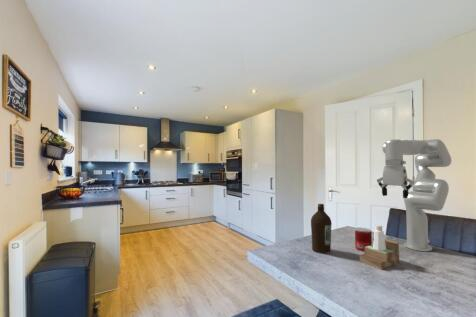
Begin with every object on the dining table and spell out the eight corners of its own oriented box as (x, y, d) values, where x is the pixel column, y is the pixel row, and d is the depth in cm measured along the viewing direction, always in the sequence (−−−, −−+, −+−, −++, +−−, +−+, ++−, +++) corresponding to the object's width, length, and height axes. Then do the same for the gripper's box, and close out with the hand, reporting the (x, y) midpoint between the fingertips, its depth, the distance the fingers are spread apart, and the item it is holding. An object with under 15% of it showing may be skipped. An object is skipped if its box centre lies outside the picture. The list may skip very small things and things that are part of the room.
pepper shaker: (381, 246, 111) (380, 224, 112) (388, 250, 106) (388, 227, 106) (370, 246, 111) (369, 224, 111) (377, 250, 106) (377, 227, 106)
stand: (377, 255, 116) (377, 236, 117) (400, 263, 107) (400, 243, 107) (359, 261, 109) (359, 241, 109) (382, 270, 100) (382, 248, 100)
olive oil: (307, 250, 123) (307, 203, 125) (316, 245, 131) (316, 202, 132) (326, 255, 116) (325, 206, 117) (335, 250, 123) (334, 204, 124)
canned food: (374, 252, 121) (373, 231, 121) (357, 251, 122) (357, 230, 123) (368, 247, 128) (368, 227, 129) (353, 246, 130) (353, 227, 130)
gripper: (417, 163, 112) (418, 198, 111) (380, 163, 127) (381, 194, 126) (409, 163, 108) (410, 199, 107) (373, 163, 123) (373, 195, 122)
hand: (394, 196), depth 117 cm, fingers open, 9 cm apart
